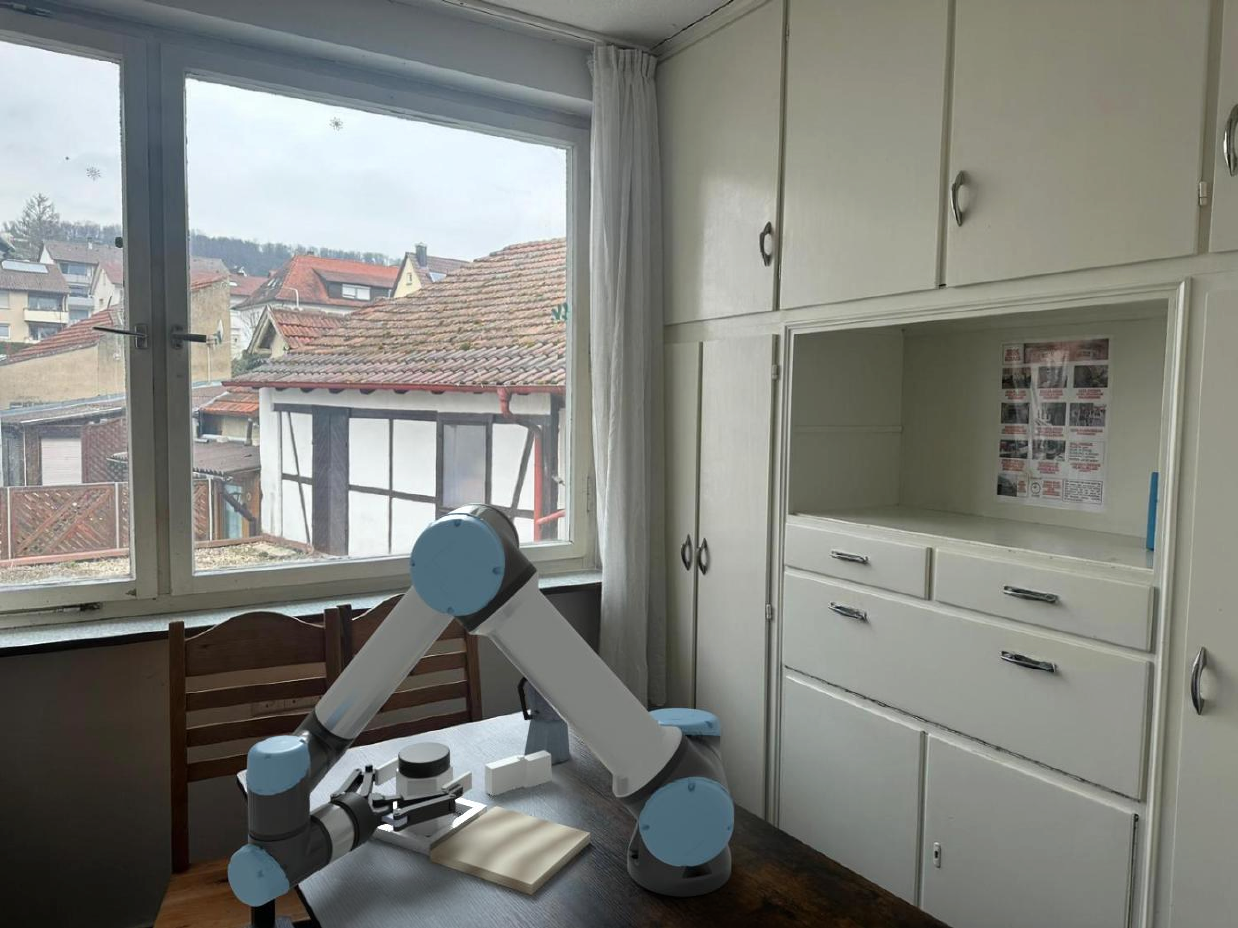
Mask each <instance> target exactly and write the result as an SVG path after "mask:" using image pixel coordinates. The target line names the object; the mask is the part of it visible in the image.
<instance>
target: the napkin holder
mask: <svg viewBox="0 0 1238 928" xmlns="http://www.w3.org/2000/svg"><path fill="white" fill-rule="evenodd" d="M548 781H549V782H551V781H552V764H551V754H550V753H548V752H546V751H545V750H543V751H540V752H536V753H533V754H530V755H526V756H524V755H523V754H516V755H512V756H509V757H507V758H506V757H505V758H503V759H499V760H495V761H493V762H489V763H485V764H484V791H486V792H485V793H487V794H488V795H489V794H490V795H489V796H491V795H495V796H498V795H500V793H501V794H504V793H507V792H506V791H508V790H511V791H513V790H512V789H514V788H517V789H519V788H522V786H523V788H524V787H525V788H524V789H527V788H529V789H530V787H531V788H533V786H534V787H537V786H539V784H540V785H543V784H546V783H549V782H548ZM545 782H546V783H545ZM542 783H543V784H542ZM536 785H537V786H536ZM514 790H515V789H514ZM503 792H504V793H503ZM508 792H509V791H508ZM497 794H498V795H497Z"/></svg>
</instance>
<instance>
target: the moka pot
mask: <svg viewBox="0 0 1238 928" xmlns="http://www.w3.org/2000/svg"><path fill="white" fill-rule="evenodd" d="M525 684H526V685H527V686H526V687H527V700H528V702H526V692H525V689H524V686H525ZM517 693H518V696H519V701H520V707H521V711H522V712H521V713H522V716H523V721H529V725H528V731H527V737H526V742H525V748H524V755H523V756H526V755H530V754H533V753H536V752H540V751H543V750H545V751H546V752H548V753H550V754H551V765H553V764H559V763H563V762H565V761H567V760H569V759H570V756H571V751H570V740H569V725H568V724H567V723H566V722H565V721H564V720H563V719H562V718H561V716H560V715H559V714H558V713H557V712H556V711H555V710H554V709H553V708H552V706H551V705H550V704H549V703H548V702H547V701H546V700H545V699H544V698H543V696H542V695H541V694H540V693H539V692H538V691H537V690H536V689H535V688H534V687H533V685H532V684H531V683H530V682H529V681H528V680H527V679H526V678H525V677H524V675H523V674H522V678H521V679H520V681H519V683H518V684H517ZM526 703H528V706H529V708H530V710H529V711H530V714H529V712H528V708H527V704H526Z"/></svg>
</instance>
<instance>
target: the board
mask: <svg viewBox="0 0 1238 928" xmlns="http://www.w3.org/2000/svg"><path fill="white" fill-rule="evenodd" d="M590 843H591V832H588V831H585V830H582V829H578V828H574V827H571V826H567V825H564V824H560V823H557V822H554V821H549V820H546V819H543V818H539V817H535V816H532V815H529V814H525V813H521V812H517V811H514V810H510V809H507V808H505V807H501V806H497V805H496V806H494V807H492V808H491V809H489V810H487V812H486V813H485V814H483V815H482V816H481V817H479V818H478V819H476V820H475V821H473V822H472V823H470V824H469V825H468V826H466V827H465V828H463V829H462V830H460V831H459V832H457V833H456V834H455V835H453V836H452V837H450V838H449V839H447V840H446V841H444V842H443V843H442V844H440V845H439V846H437V847H436V848H434V849H433V850H431V851H430V856H429V857H430V862H433V863H435V864H438V865H441V864H442V866H444V867H447V868H450V869H453V870H457V871H459V872H462V873H466V874H468V875H470V876H471V875H472V876H474V877H477V878H481V879H482V880H483V879H484V880H486V881H489V882H491V883H492V882H493V883H494V884H498V885H501V886H504V887H507V888H510V889H513V890H515V891H519V892H520V893H521V892H522V893H525V894H528V895H531V896H532V895H534V893H536V891H538V890H539V889H540V888H541V887H542V886H543V885H545V884H546V882H548V881H549V880H551V878H552V877H553V876H555V874H557V873H558V872H559V871H560V870H561V869H562V868H564V866H566V865H567V864H568V863H569V862H570V861H571V860H572V859H573V858H574V857H575V856H577V855H578V854H579V853H580V852H581V851H582V850H583V849H585V848H586V847H587V846H588V845H589V844H590Z"/></svg>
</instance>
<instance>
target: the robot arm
mask: <svg viewBox="0 0 1238 928" xmlns="http://www.w3.org/2000/svg"><path fill="white" fill-rule="evenodd" d="M539 574H540V572H539V570H538V569H537V567H535V566H534V564H533V563H532V562H531V561H530V560H529V559H528V557H527V556H526V555H525V554H524V553H523V552H522V551H521V550H520V537H519V533H518V530H517V527H516V525H515V523H514V522H513V520H512V519H511V518H510V517H509V516H508V514H507V513H505V512H504V511H503V510H501V509H499V508H498V507H495V506H493V505H491V504H488V503H481V502H472V503H467V504H466V503H465V504H463V505H461V506H458V507H456V508H454V509H453V510H450V512H448V513H446V514H443V515H441V516H439V517H437V518H435V520H433V521H432V522H431V523H429V525H427V527H426V528H425V529H424V530H423V531H422V532H421V533H420V535H419V536H418V538H417V539H416V541H415V543H414V545H413V546H412V550H411V553H410V557H409V575H410V580H411V584H412V585H411V587H409V589H408V590H407V591H406V592H405V594H404V595H403V596H402V597H401V599H400V600H399V601H398V602H397V604H396V605H395V606H394V607H393V609H392V610H391V611H390V612H389V614H388V615H387V616H386V617H385V618H384V620H383V621H382V622H381V624H380V625H379V626H378V627H377V629H376V630H375V631H374V632H373V634H372V635H371V636H370V637H369V639H368V640H367V641H366V642H365V644H364V645H363V646H362V648H361V649H360V650H359V651H358V653H356V655H355V656H354V657H353V659H351V661H350V662H349V664H348V665H347V666H346V668H344V670H343V671H342V672H341V674H340V675H339V676H338V678H336V680H335V681H334V682H333V684H332V685H331V686H330V688H329V689H328V690H327V691H326V692H325V694H323V696H322V698H321V699H320V700H319V701H318V702H317V704H315V707H313V708H312V710H310V712H309V713H308V715H307V716H306V717H305V718H304V719H303V721H302V722H300V725H299V726H298V727H297V728H296V729H295V730H294V732H293V733H291V734H290V735H277V736H271V737H268V738H266V739H265V740H263V741H258V742H256V743H255V744H254V745H252V747H250V750H248V753H247V757H246V758H247V759H246V760H247V761H246V763H247V764H246V773H245V783H246V795H247V797H246V798H247V816H248V818H247V820H248V831H247V837H248V838H247V841H248V842H247V844H245V845H243V846H242V847H240V849H238V850H237V851H236V852H234V853H233V855H232V856H231V858H230V862H229V864H228V866H227V877H228V882H229V885H230V888H231V889H232V892H233V893H234V895H235V896H236V897H237V899H238V900H239V901H241V903H242V904H246V905H248V906H251V907H260V906H264V905H265V904H267V903H268V902H269V903H270V901H273V900H275V899H276V898H278V897H280V896H284V895H285V894H287V893H288V892H289V891H291V890H292V889H293V888H295V887H296V886H298V885H299V884H301V883H302V882H304V881H306V880H307V879H308V878H310V877H311V876H313V875H314V874H315V873H317V872H320V871H321V870H323V869H325V868H326V867H327V866H329V865H331V864H333V863H334V862H335V861H337V860H339V859H340V858H343V856H346V855H347V854H349V853H350V852H351V853H352V851H354V850H356V849H357V848H359V847H361V846H362V845H364V844H366V843H367V842H369V840H371V838H373V837H372V835H373V833H374V832H375V830H376V829H377V827H379V826H382V825H386V824H388V825H391V826H393V831H394V832H399V831H401V830H403V829H405V828H407V827H409V826H412V825H415V824H419V823H422V822H425V821H429V820H432V819H435V818H439V817H442V816H445V815H449V814H452V813H453V814H455V813H456V799H458V798H462V796H463V795H464V794H466V793H467V792H468V791H470V790H472V789H473V784H472V783H473V782H472V781H473V778H472V777H473V776H472V775H473V774H472V771H470V770H467V771H465V772H464V773H462V774H460V775H459V776H457V777H456V778H453V780H452V781H450V782H449V783H447V784H446V785H444V786H442V787H441V791H436V792H429V793H423V794H417V795H411V796H405V797H403V796H402V795H401V794H397V795H396V794H393V795H384V794H382V793H381V792H380V793H379V792H376V791H375V792H373V789H374V786H376V787H380V786H381V785H383V784H384V783H387V782H389V781H391V780H392V779H393V778H396V769H398V756H397V757H394V758H392V759H391V760H389V761H387V762H384V763H383V764H380V765H379V766H377V767H375V768H374V767H373V766H374V765H373V764H370V763H369V764H366V765H364V771H362V768H360V767H359V768H357V767H356V768H354V769H353V770H352V772H351V773H350V774H349V776H348V777H347V778H346V779H345V781H344V782H343V783H342V784H341V786H340V787H339V788H338V789H337V790H336V791H334V792H332V793H331V794H330V795H329V797H330V799H329V800H330V801H328V802H326V803H324V804H322V805H320V806H318V807H316V808H315V809H312V810H311V794H312V793H313V791H314V790H315V789H316V788H317V787H318V785H319V784H320V783H321V781H322V780H324V779H325V777H326V775H327V774H328V773H329V772H330V770H331V769H333V767H334V766H335V765H336V764H337V763H338V762H339V761H340V760H341V758H343V756H344V755H345V754H346V753H347V751H348V749H349V748H350V747H351V745H353V743H354V742H355V741H356V738H357V737H358V736H359V734H361V732H362V731H363V730H364V729H365V728H366V726H367V725H368V724H369V723H370V721H371V720H372V719H373V718H374V717H375V715H376V714H377V713H378V712H379V711H380V709H381V708H382V707H383V706H384V704H385V703H386V702H387V701H388V699H389V698H390V697H391V696H392V694H393V693H394V692H395V691H396V690H397V688H398V687H399V686H400V685H401V684H402V682H403V681H404V680H405V679H406V678H407V676H408V675H409V674H410V672H412V670H413V669H414V667H415V666H416V665H418V663H419V662H420V660H421V659H422V658H423V657H424V656H425V654H426V653H427V651H429V650H430V648H431V647H432V646H433V644H434V643H435V641H437V640H438V638H439V637H440V636H441V634H442V633H443V632H444V631H445V630H446V628H447V627H448V626H449V624H451V622H452V621H453V620H456V621H457V622H458V624H460V626H462V628H463V629H465V631H466V632H467V633H468V634H469V635H473V636H474V635H475V636H477V635H478V636H484V637H488V638H489V639H490V640H491V641H492V642H493V643H494V644H495V645H496V646H497V648H498V649H499V650H500V651H501V652H502V653H503V654H504V656H505V657H506V658H507V659H508V660H509V661H510V662H511V663H512V665H514V667H515V668H517V670H518V671H519V673H521V674H522V676H523V675H524V677H525V678H526V679H527V680H528V681H529V682H530V683H531V684H532V685H533V687H534V688H535V689H536V690H537V691H538V692H539V693H540V694H541V695H542V696H543V698H544V699H545V700H546V701H547V702H548V703H549V704H550V705H551V706H552V708H553V709H554V710H555V711H556V712H557V713H558V714H559V715H560V716H561V718H562V719H563V720H564V721H565V722H566V723H567V724H568V727H569V728H570V729H571V730H572V731H573V732H574V733H575V734H576V735H577V736H578V737H579V738H580V740H581V742H583V743H584V744H585V746H587V747H588V749H589V750H590V751H591V752H592V753H593V754H594V756H595V757H596V758H597V759H598V760H599V761H600V762H601V763H602V765H604V766H605V768H607V770H608V771H609V772H610V773H611V774H612V793H613V794H614V796H615V797H616V798H617V799H618V800H619V802H621V804H622V805H623V806H624V807H625V809H627V810H628V812H629V813H630V814H632V816H633V817H634V818H635V819H636V820H637V821H636V824H635V826H634V830H633V832H632V836H631V838H630V841H629V845H628V849H627V855H626V856H627V860H626V861H627V862H626V863H627V864H626V868H627V872H628V874H629V877H631V879H632V880H633V881H634V882H635V883H637V885H639V886H641V887H642V888H644V889H645V890H648V891H651V892H653V893H656V894H659V895H663V896H669V897H684V898H685V897H696V896H701V895H706V894H709V893H711V892H714V891H716V890H718V889H720V888H721V887H723V886H724V885H725V884H726V883H727V882H728V880H729V879H730V878H731V873H732V855H731V854H732V853H731V849H730V845H729V841H730V839H731V837H732V834H733V830H734V826H735V825H734V824H735V818H734V816H735V806H734V801H733V798H732V796H731V792H730V789H729V785H728V782H727V781H728V780H727V776H726V773H725V770H724V766H723V761H722V753H721V750H722V749H721V737H722V736H723V733H722V731H721V730H722V729H721V728H722V727H721V720H720V719H719V717H717V715H715V714H713V713H712V712H708V711H705V710H701V709H695V708H684V707H673V708H672V707H671V708H661V709H654V710H651V711H649V710H647V708H645V706H643V704H642V703H641V702H640V701H639V699H638V698H637V697H636V696H635V695H634V694H633V692H631V691H630V689H629V688H628V687H627V686H626V684H624V683H623V682H622V680H620V679H619V677H618V676H617V675H616V674H615V673H614V671H612V670H611V668H610V667H609V666H608V665H607V664H606V663H605V662H604V661H603V660H602V658H601V657H600V656H599V655H598V654H597V653H596V652H595V651H594V649H593V648H592V647H591V646H590V645H589V644H588V643H587V642H586V640H585V639H584V638H583V637H582V636H581V635H580V633H579V632H577V631H576V629H574V627H573V626H572V625H571V624H570V623H569V621H567V619H566V618H565V617H564V615H562V614H561V613H560V611H558V610H557V608H556V607H555V606H554V604H553V603H552V602H550V601H549V600H548V598H547V597H546V596H545V595H544V594H543V593H542V591H540V587H539V578H540V577H539V576H540V575H539ZM359 789H360V792H359V793H357V792H358V790H359ZM394 802H397V811H396V812H394V813H393V810H394Z"/></svg>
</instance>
